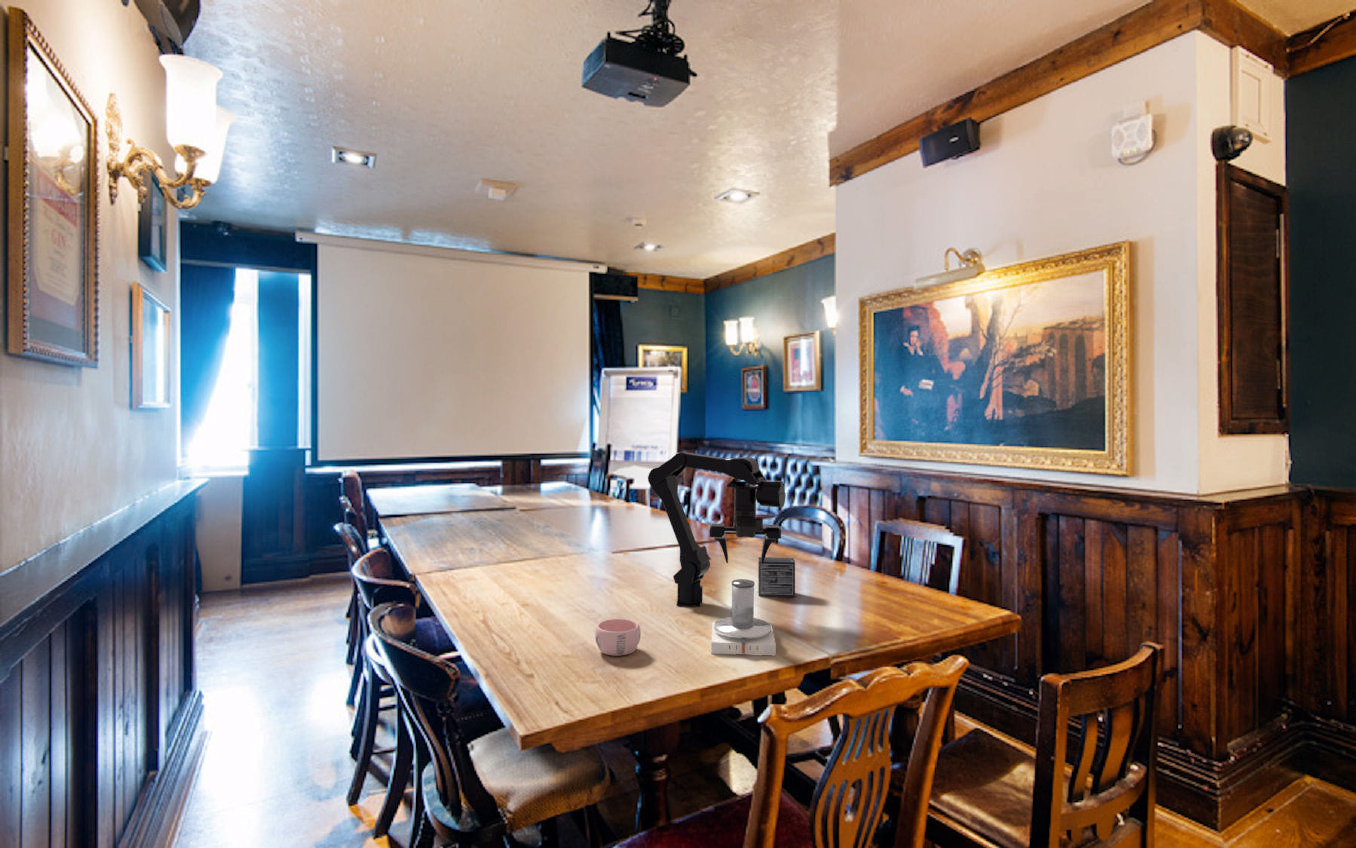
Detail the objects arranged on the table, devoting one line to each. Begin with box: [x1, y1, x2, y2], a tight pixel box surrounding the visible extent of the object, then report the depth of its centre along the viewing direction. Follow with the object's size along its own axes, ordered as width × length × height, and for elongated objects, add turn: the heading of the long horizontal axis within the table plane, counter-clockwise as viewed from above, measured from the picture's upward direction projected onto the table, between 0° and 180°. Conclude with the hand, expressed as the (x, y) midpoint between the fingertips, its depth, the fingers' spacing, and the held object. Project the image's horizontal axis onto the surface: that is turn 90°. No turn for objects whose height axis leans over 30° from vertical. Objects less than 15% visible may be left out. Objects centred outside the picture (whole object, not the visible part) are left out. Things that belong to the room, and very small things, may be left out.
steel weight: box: [731, 578, 755, 629], centre depth 149 cm, size 5×5×10 cm
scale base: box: [710, 621, 777, 656], centre depth 149 cm, size 14×14×2 cm
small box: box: [757, 556, 796, 599], centre depth 190 cm, size 11×6×10 cm, turn 84°
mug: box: [594, 618, 641, 657], centre depth 144 cm, size 12×10×6 cm
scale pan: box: [714, 616, 772, 654], centre depth 148 cm, size 13×14×4 cm
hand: (744, 563), depth 172 cm, fingers open, 9 cm apart
